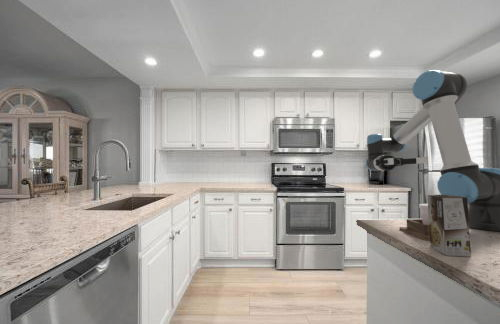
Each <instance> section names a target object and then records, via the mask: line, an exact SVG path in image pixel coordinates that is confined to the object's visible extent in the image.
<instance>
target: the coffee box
mask: <svg viewBox="0 0 500 324" xmlns="http://www.w3.org/2000/svg"><path fill="white" fill-rule="evenodd" d="M426 198H427V199H426V200H427V204H428V216H429V230H430V247H431V248H432V249H434V250H435V251H438V252H439V253H441V254H443V255H444V256H448V257H450V256H451V257H452V256H453V257H471V256H472V253H471V252H472V251H471V235H470V227H469V216H468V208H469V203H468V200H467V199H468V198H467V197H461V196H455V195H441V194H433V195H431V194H430V195H426Z"/></svg>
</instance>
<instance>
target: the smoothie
mask: <svg viewBox="0 0 500 324" xmlns="http://www.w3.org/2000/svg"><path fill="white" fill-rule="evenodd" d="M427 194H428V195H431V193H430V192H429V193H427ZM418 208H419V211H420V215H421V219H422V221H423V224H425V225H429V216H428V203H419V204H418Z"/></svg>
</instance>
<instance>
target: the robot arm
mask: <svg viewBox="0 0 500 324" xmlns="http://www.w3.org/2000/svg"><path fill="white" fill-rule="evenodd" d="M467 90H468V81H467V79H466V77H465V76H463V75H462V74H461V73H457V72H449V71H442V70H440V69H430V70H427V71H424V72H423V73H420V75H419V76H418V77H417V78H416V79H415V82H414V83H413V86H412V94H413V96H414V98H417V99H418V100H421V105H422V107H421V108H420V109H419V110H418V111H417V112H416V113H415V114H414V115H413V116H412V117H410V119H409V120H407V122H405V124H403V125H402V127H400V128H399V129H398V130H397V131H396V132H395V133H394V134H393V135H392V136H390V137H385V138H384V137H383V136H384V135H383V134H382V133H373V134H368V135H367V138H366V144H367V159H366V160H365V167H366V169H368V170H369V171H373V172H382V173H383V172H385V171H392V170H394V169H395V168H396V167H399V166H404V165H420V164H421V165H423V164H429V162H428V161H429V160H428V158H429V157H428V156H421V157H420V155H417V157H414V158H402V157H398V158H397V157H395V156H394V155H391V154H385V153H399V152H403V151H404V150H405V148H406V145H407V143H408V142H409V141H410V140H411V139H412V138H414V137H416V135H418V133H420V132H421V131H422V130H423V129H424V128H425V127H427V126H428V125H429V124H430V123H431V124H432V128H433V132H434V136H435V139H436V142H437V147H438V149H439V154H440V157H441V161H442V165H443V166H442V167H441V169H440V170H439V173H440V175H441V176H440V177H439V179H438V180H437V182H436V183H437V189H438V192H439V195H455V196H461V197H467V198H468V199H467V200H468V216H469V228H471V229H476V230H481V231H490V232H500V168H495V167H491V168H490V167H480V166H479V164H478V163H477V162H475V161H472V158H471V155H470V151H469V147H468V144H467V141H466V137H465V134H464V131H463V127H462V124H461V122H460V118H459V113H458V111H457V107H456V104H458V102H459V101H461V99H462V98H463V97H464V95H466V92H467Z"/></svg>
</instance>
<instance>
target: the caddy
mask: <svg viewBox="0 0 500 324" xmlns="http://www.w3.org/2000/svg"><path fill="white" fill-rule="evenodd" d="M399 230H400V231H402V232H404V233H407V234H409V235H411V236H413V237H416V238H418V239H421V240H422V241H425V242H428V241H430V230H429V225H425V224H423V221H422V218H415V219H414V218H413V219H412V218H411V219H410V218H409V219H408V218H407V219H406V226H399Z"/></svg>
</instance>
